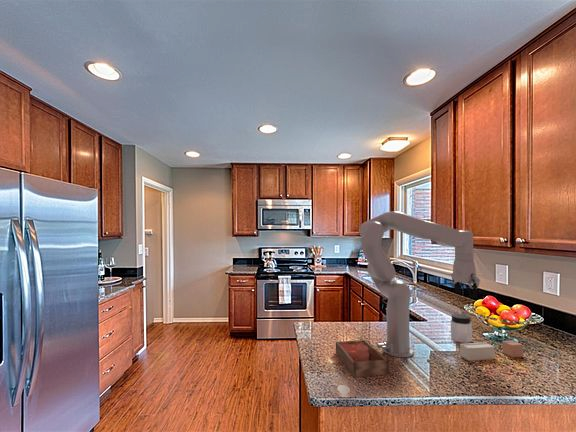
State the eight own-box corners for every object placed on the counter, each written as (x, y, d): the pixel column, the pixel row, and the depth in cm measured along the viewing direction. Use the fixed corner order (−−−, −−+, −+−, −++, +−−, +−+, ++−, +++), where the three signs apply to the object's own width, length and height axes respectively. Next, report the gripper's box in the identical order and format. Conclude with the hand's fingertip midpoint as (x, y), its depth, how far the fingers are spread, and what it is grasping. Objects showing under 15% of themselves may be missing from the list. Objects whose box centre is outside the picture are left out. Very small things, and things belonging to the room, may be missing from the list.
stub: (512, 357, 131) (511, 344, 131) (502, 352, 136) (502, 340, 136) (522, 356, 132) (522, 344, 132) (512, 352, 137) (512, 340, 137)
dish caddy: (353, 376, 116) (353, 363, 116) (335, 353, 138) (335, 341, 138) (388, 374, 118) (388, 360, 118) (365, 351, 140) (364, 339, 140)
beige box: (468, 360, 128) (468, 348, 128) (460, 355, 133) (459, 343, 133) (494, 358, 130) (494, 346, 130) (485, 354, 135) (485, 342, 135)
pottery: (339, 354, 138) (339, 331, 138) (359, 352, 139) (359, 330, 139) (353, 372, 120) (353, 346, 120) (377, 370, 121) (376, 345, 122)
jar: (465, 345, 146) (464, 319, 147) (448, 340, 153) (447, 315, 154) (475, 341, 151) (474, 316, 152) (458, 337, 158) (457, 312, 159)
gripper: (444, 256, 152) (445, 291, 151) (470, 259, 134) (471, 299, 134) (458, 255, 153) (459, 291, 152) (486, 259, 136) (487, 299, 135)
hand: (465, 295), depth 143 cm, fingers open, 9 cm apart
